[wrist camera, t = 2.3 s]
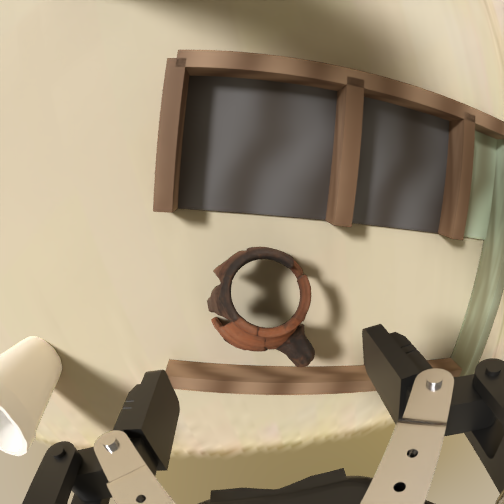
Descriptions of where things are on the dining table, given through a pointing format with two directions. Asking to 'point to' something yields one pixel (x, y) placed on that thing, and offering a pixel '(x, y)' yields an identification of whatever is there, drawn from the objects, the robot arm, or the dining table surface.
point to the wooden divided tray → (329, 178)
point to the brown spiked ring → (253, 337)
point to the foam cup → (25, 391)
